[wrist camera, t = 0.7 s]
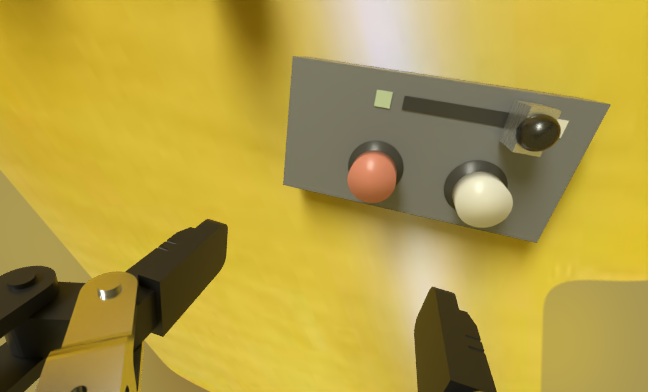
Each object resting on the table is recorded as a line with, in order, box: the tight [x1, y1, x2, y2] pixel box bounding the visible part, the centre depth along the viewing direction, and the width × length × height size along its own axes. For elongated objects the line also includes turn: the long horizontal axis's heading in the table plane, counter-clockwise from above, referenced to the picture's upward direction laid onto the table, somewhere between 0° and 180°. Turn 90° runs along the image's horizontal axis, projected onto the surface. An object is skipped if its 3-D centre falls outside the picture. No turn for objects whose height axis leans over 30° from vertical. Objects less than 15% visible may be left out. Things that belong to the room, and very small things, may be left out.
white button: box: [452, 172, 513, 228], centre depth 22 cm, size 4×4×2 cm
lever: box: [499, 100, 562, 157], centre depth 19 cm, size 2×3×4 cm
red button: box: [347, 150, 397, 203], centre depth 23 cm, size 4×4×2 cm
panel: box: [283, 56, 611, 243], centre depth 26 cm, size 22×11×4 cm, turn 81°
